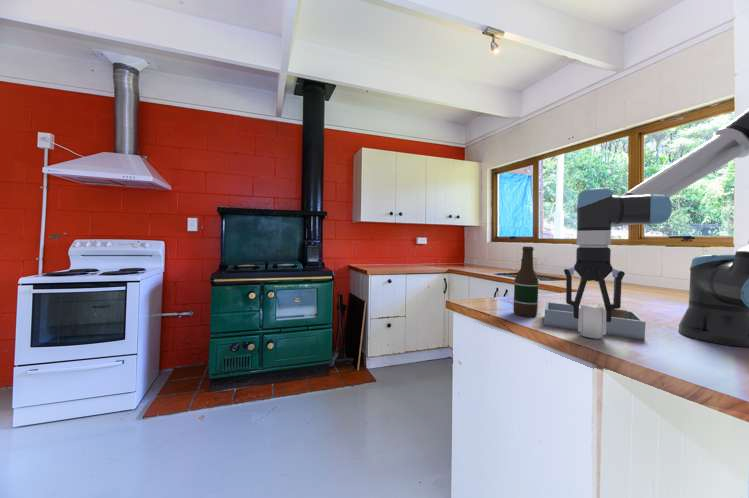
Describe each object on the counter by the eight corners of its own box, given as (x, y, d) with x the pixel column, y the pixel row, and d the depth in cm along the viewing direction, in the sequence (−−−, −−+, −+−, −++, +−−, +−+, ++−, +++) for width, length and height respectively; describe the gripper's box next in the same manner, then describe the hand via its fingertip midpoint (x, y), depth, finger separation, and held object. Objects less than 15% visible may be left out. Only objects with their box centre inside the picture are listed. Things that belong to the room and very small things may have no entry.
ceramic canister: (601, 334, 84) (602, 305, 84) (604, 339, 80) (604, 309, 79) (579, 331, 86) (580, 303, 86) (581, 336, 82) (581, 307, 82)
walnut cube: (622, 326, 92) (623, 306, 91) (626, 331, 87) (627, 310, 86) (597, 323, 95) (598, 304, 94) (600, 327, 90) (601, 307, 89)
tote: (633, 327, 93) (634, 311, 93) (644, 340, 82) (645, 321, 81) (545, 316, 105) (546, 301, 105) (544, 325, 94) (544, 309, 94)
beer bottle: (540, 318, 102) (544, 247, 102) (516, 316, 104) (519, 246, 103) (533, 312, 110) (536, 246, 109) (510, 311, 112) (513, 246, 111)
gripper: (632, 246, 81) (630, 333, 82) (555, 246, 90) (554, 324, 91) (638, 247, 75) (636, 341, 75) (555, 246, 84) (554, 330, 84)
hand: (591, 331), depth 83 cm, fingers closed on ceramic canister, 4 cm apart
